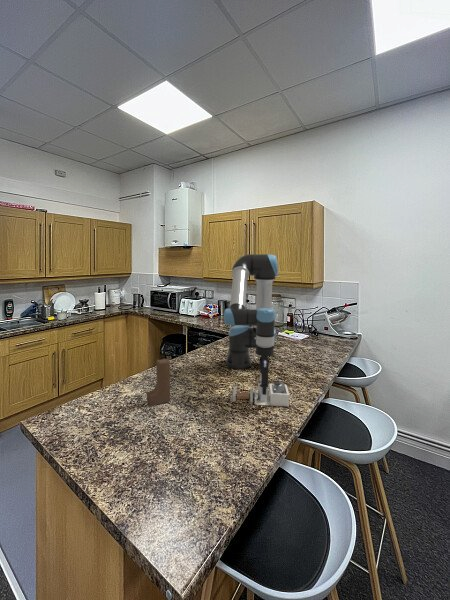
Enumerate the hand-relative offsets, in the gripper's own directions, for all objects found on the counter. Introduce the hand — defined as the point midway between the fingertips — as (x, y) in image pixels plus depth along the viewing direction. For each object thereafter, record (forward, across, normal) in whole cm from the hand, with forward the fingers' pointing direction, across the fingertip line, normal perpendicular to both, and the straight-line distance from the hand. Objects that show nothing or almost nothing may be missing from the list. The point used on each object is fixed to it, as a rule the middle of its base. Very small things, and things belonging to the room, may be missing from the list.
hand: (263, 394), depth 121 cm
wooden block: (+4, +5, -45) cm, 45 cm away
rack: (+4, 0, +3) cm, 5 cm away
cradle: (+4, -1, -9) cm, 10 cm away
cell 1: (+2, 0, 0) cm, 2 cm away
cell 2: (+2, 0, +7) cm, 7 cm away
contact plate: (+3, -1, -9) cm, 9 cm away
